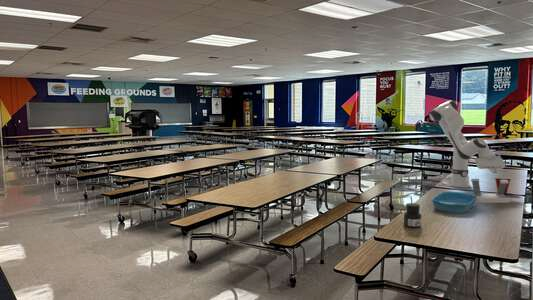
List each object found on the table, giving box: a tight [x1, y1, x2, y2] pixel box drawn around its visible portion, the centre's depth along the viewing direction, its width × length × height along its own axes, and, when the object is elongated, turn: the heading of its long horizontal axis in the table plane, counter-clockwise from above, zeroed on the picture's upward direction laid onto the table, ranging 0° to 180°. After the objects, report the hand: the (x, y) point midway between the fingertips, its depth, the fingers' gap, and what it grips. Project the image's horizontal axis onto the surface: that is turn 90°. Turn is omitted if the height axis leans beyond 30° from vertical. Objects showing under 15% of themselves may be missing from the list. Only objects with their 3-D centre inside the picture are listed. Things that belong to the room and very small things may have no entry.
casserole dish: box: [431, 191, 477, 214], centre depth 244 cm, size 37×22×7 cm, turn 139°
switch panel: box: [470, 193, 512, 204], centre depth 263 cm, size 14×22×3 cm, turn 92°
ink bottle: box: [403, 202, 422, 229], centre depth 206 cm, size 10×9×12 cm
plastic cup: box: [494, 176, 512, 194], centre depth 286 cm, size 11×11×12 cm
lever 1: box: [470, 178, 482, 196], centre depth 263 cm, size 2×4×12 cm, turn 92°
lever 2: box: [495, 180, 510, 196], centre depth 260 cm, size 2×4×12 cm, turn 91°
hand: (495, 172), depth 272 cm, fingers closed
